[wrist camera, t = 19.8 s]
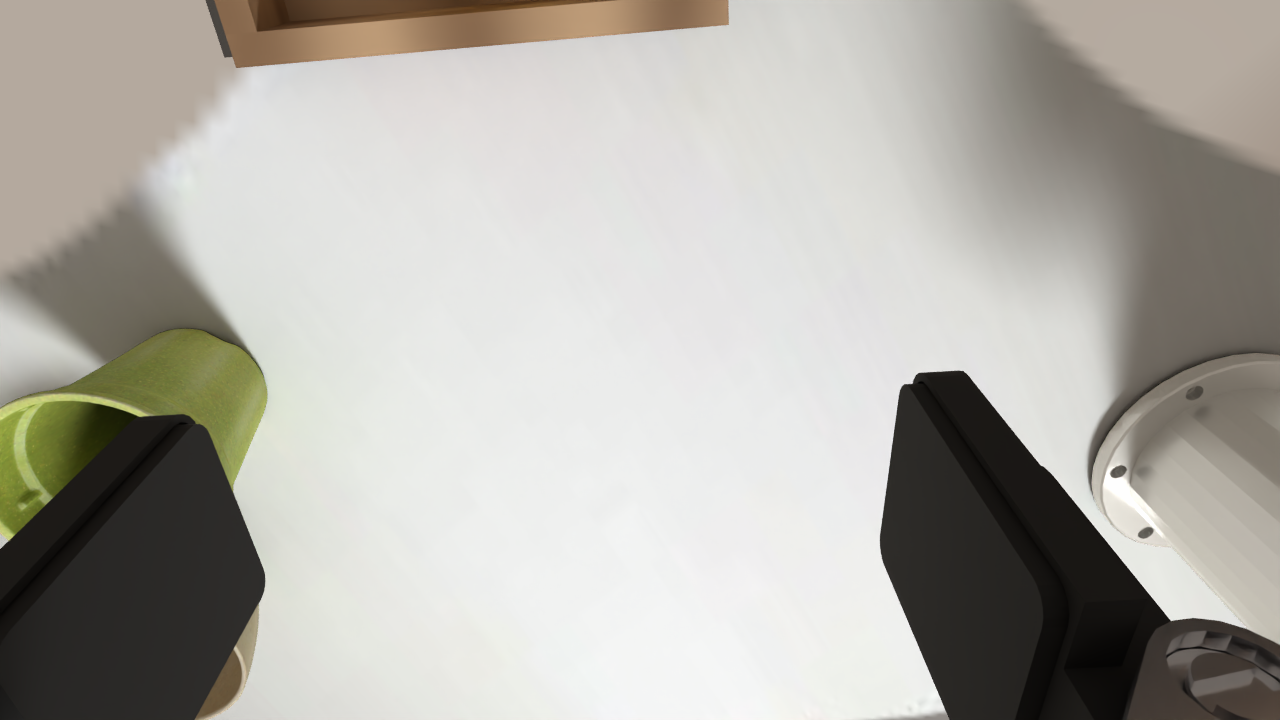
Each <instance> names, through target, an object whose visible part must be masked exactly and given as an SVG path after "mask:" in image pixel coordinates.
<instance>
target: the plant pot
mask: <svg viewBox="0 0 1280 720" xmlns="http://www.w3.org/2000/svg"><path fill="white" fill-rule="evenodd" d="M266 403H267V388H266V384H265V380H264V377H263V375H262V373H261V371H260V369H259V368H258V366H257V365H256V363H255V362H254V361H253V360H252V359H251V357H250V356H249V355H248V354H247V353H246V352H244V351H243V350H242V349H241V348H240V347H238V346H236V345H233V344H230V343H227V342H225V341H222V340H220V339H218V338H216V337H214V336H212V335H210V334H209V333H207V332H205V331H202V330H196V329H174V330H168V331H165V332H162V333H159V334H157V335H155V336H153V337H151V338H150V339H148V340H146V341H144V342H143V343H141V344H139V345H137V346H136V347H134V348H133V349H131V350H129V351H128V352H126V353H125V354H123V355H121V356H120V357H118V358H116V359H115V360H113V361H111V362H109V363H108V364H106V365H104V366H102V367H101V368H99V369H97V370H96V371H94V372H92V373H90V374H89V375H87V376H85V377H83V378H82V379H80V380H78V381H76V382H75V383H73V384H71V385H69V386H65V387H61V388H58V389H55V390H50V391H43V392H38V393H34V394H30V395H27V396H24V397H21V398H18V399H16V400H14V401H12V402H9V403H7V404H6V405H4V406H2V407H1V408H0V534H1V535H3V536H4V537H5V538H6V539H7V540H8V541H9V540H10V539H11V538H12V537H13V536H14V535H15V534H16V533H17V532H18V531H19V530H21V529H22V528H23V527H24V526H25V525H26V524H27V523H28V522H29V521H30V520H31V519H32V518H33V517H34V516H35V515H36V514H37V513H38V512H39V511H40V510H41V509H42V508H43V507H44V506H45V505H46V504H47V503H48V502H49V501H50V500H51V499H52V498H53V497H54V496H55V495H56V494H57V493H58V492H59V491H60V490H62V489H63V488H64V487H65V486H66V485H67V484H68V483H69V482H70V481H71V480H72V479H73V478H74V477H75V476H76V475H77V474H78V473H79V472H80V471H81V470H82V469H83V468H84V467H85V466H86V465H87V464H88V463H89V462H90V461H91V460H92V459H93V458H94V457H95V456H96V455H97V454H98V453H99V452H100V451H101V450H103V449H104V448H105V447H106V446H107V445H108V444H109V443H110V442H111V441H112V440H113V439H114V438H115V437H116V436H117V435H118V434H119V433H120V432H121V431H122V430H123V429H124V428H125V427H126V426H127V425H128V424H129V423H130V422H131V421H133V420H134V419H136V418H137V417H142V416H157V415H175V414H185V415H188V416H190V417H191V418H192V419H193V420H194V421H195V423H196V424H201V425H203V426H204V427H205V428H207V430H208V432H209V434H210V436H211V438H212V441H213V444H214V446H215V449H216V451H217V454H218V456H219V459H220V461H221V464H222V466H223V469H224V471H225V474H226V476H227V479H228V481H229V484H230V486H231V489H232V491H233V484H234V481H235V479H236V477H237V474H238V472H239V470H240V467H241V465H242V463H243V460H244V458H245V455H246V453H247V451H248V448H249V446H250V444H251V441H252V439H253V437H254V434H255V432H256V430H257V428H258V425H259V423H260V420H261V418H262V416H263V413H264V410H265V407H266Z"/></svg>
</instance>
